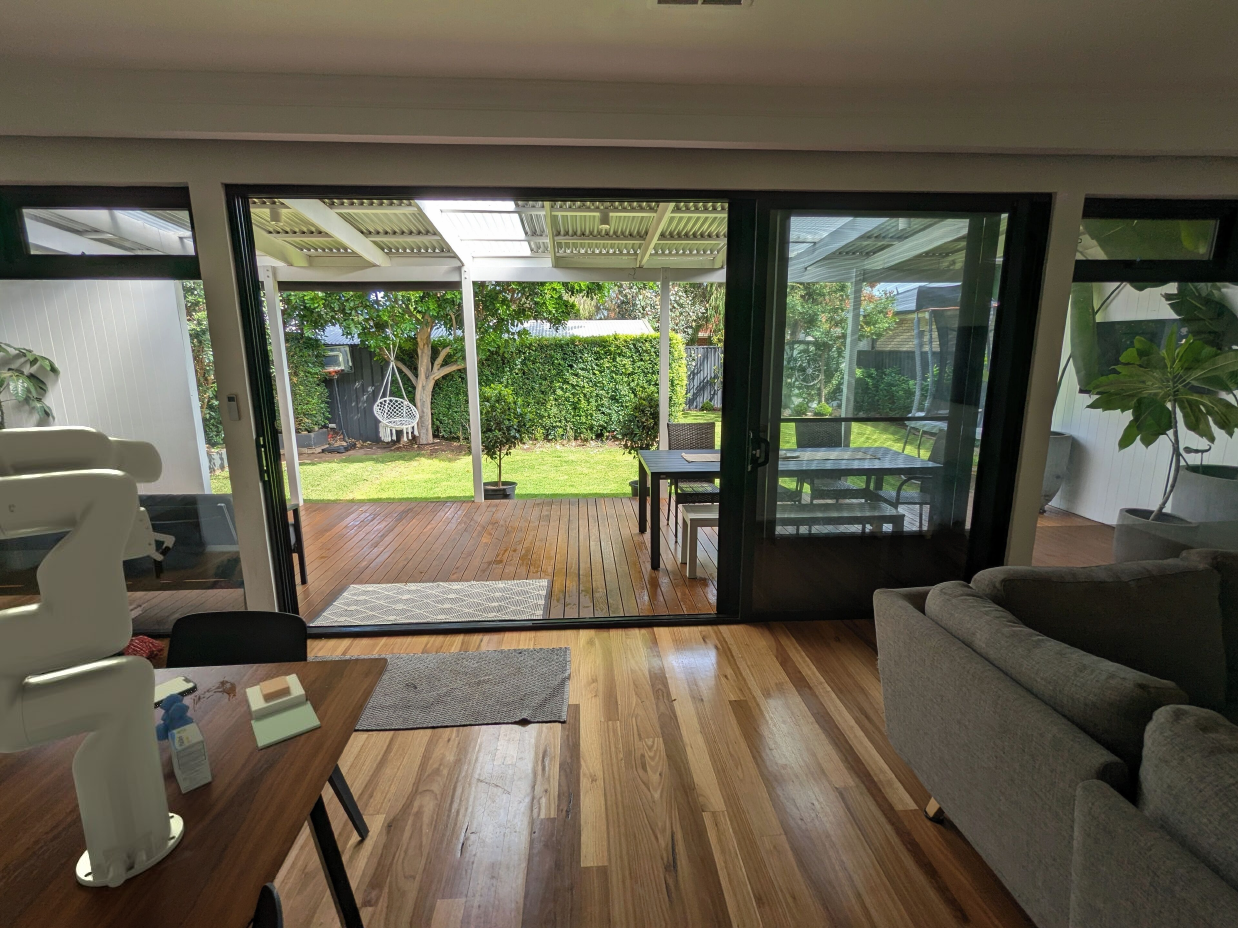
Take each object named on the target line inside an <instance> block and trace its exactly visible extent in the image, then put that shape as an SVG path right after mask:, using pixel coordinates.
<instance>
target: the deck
mask: <svg viewBox="0 0 1238 928" xmlns="http://www.w3.org/2000/svg"><path fill="white" fill-rule="evenodd" d="M285 677H286V680H287V682H288V684H289V686H290V693H287V694H284V695H281V696H278V697H275V698H272V699H269V700H266V701H264V699H263V696H262V693H261V691H260V684H258V685H255V686H251V687H248V688H245V693H246V701H247V704H248V707H249V711H250V714H251V717H252V720H255V719H258V718H261V717H264V716H267V715H269V714H272V713H275V712H278V711H281V710H284V709H287V708H290V707H292V706H295V705H298V704H301V703H304V702H307V700H306V692H305V690H304V688H303V686H302V684H301V682H300V680H299V678H298V676H297V675H296V673H293V674H290V675H287V676H285Z"/></svg>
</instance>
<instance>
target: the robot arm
mask: <svg viewBox="0 0 1238 928" xmlns="http://www.w3.org/2000/svg"><path fill="white" fill-rule="evenodd" d="M162 462H163V461H162V458H161V455H160V453H159V451H158V449H157V448H156V446H155V445H154V444H152V443H150V441H149V442H148V441H145V440H136V439H125V438H116V437H109V436H108V435H107V434H105V433H104V432H102V431H100V430H98V429H95V428H92V427H87V426H81V425H78V426H77V425H68V426H67V425H66V426H65V425H63V426H46V427H45V426H44V427H25V428H24V427H23V428H20V427H19V428H3V429H0V540H7V539H14V538H21V537H29V536H36V535H45V534H54V533H60V532H67V531H69V532H68V534H66V535H65V536H64V537H63V538H62V539H61V540H60V541H58V543H57V544H56V545H55V546H54V547H53V548H52V549H51V550H50V551H49V552H48V553H47V554H46V556H45V557H44V559H43V560H42V561H41V563H40V565H39V566H38V568H37V570H36V581H37V584H38V588H39V593H40V598H41V602H37V603H31V604H26V605H21V606H16V607H9V608H7V609H1V610H0V753H2V754H9V753H17V752H21V751H26V750H29V749H33V748H36V747H39V746H43V745H45V744H46V745H47V744H50V743H53V742H57V741H59V740H60V741H61V740H64V739H67V738H71V737H73V736H79V735H84V734H87V733H88V735H87V736H86V737H85V738H84V740H83V742H82V743H81V745H79V747H78V749H77V750H76V753H75V754H74V756H73V760H72V765H71V768H72V769H71V771H72V776H73V777H72V778H73V780H74V786H75V791H76V797H77V802H78V807H79V813H80V818H81V822H82V823H81V824H82V829H83V834H84V839H85V845H86V850H85V851H84V852H83V854H81V855H82V856H80V858H79V860H78V862H77V864H76V866H75V876H76V879H77V882H78V883H80V884H81V885H83V886H86V887H103V886H104V887H105V886H108V887H110V888H115V887H118V886H120V885H122V884H124V882H125V881H126V880H128V879H130V878H133V877H134V876H137V875H139V874H140V873H143V872H144V871H146V870H148V869H150V868H152V867H153V866H154V865H156V864H157V863H158V862H160V861H162V860H163V858H166V856H167V855H169V854H170V853H171V852H172V851H173V849H174V848H176V847H177V845H178V844H179V843H180V841H181V840H182V838H183V835H184V832H185V823H184V819H183V818H182V817H181V816H180V815H179V814H176V813H173V812H172V813H171V812H170V811H169V805H168V799H167V793H166V791H167V790H166V786H165V779H164V773H163V767H162V760H161V754H160V748H159V742H158V740H157V734H156V720H155V719H156V718H155V708H154V698H155V686H156V673H155V668H154V666H153V664H152V663H151V661H150V660H148V659H147V658H145V657H143V656H140V655H131V654H130V655H120V656H112V655H114V654H117V653H119V652H120V651H122V650H123V649H125V648H126V647H127V646H128V645H129V644H130V641H131V640H132V636H133V622H132V613H131V608H130V602H129V601H130V600H129V597H128V589H127V584H126V580H125V572H124V565H123V563H124V562H123V561H127V560H131V559H132V560H133V559H139V558H142V557H146V556H149V557H151V558H152V559H151V564H152V565H151V566H152V571H153V573H152V574H153V577H154V578H155V580H161V575H162V574H164V567H163V561H162V560H163V559H164V557H165V556H166V555H168V553H170V551H171V549H172V547H173V545H174V543H175V541H176V538H175V536H173V535H169V534H163V533H157V532H154V531H153V527H152V523H151V521H150V516H149V514H148V511H147V509H146V508H144V507H141V505H140V503H141V502H140V498H139V492H138V491H139V490H138V485H144V484H152V483H155V482H157V481H158V480H160V478H161V475H162V472H163V463H162ZM155 540H157V541H161V542H164V544H163V546H162V547H161V548H160V549H159V550H158V551H157V550H156V549H157V548H156V541H155ZM110 656H112V657H110ZM106 657H107V658H106ZM42 673H44V674H42Z"/></svg>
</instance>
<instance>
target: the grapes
mask: <svg viewBox="0 0 1238 928" xmlns="http://www.w3.org/2000/svg"><path fill="white" fill-rule="evenodd" d="M184 699H185V697H184V696H180V695H178V694H170V695H169V696H167V697H166V698H165V699H164V700H163V702H162V704H161V705H160V706H159V709H160V710H162V711H164V712H163V713H162V715H161V718H160V720H161V721H162V723H158V724H156V725H155V727H156V734H157V741H159V742H162V741H168V742H169V738H168V733H169V732H171V731H173V730H176V729H178V728H181V727H183V726H186V725H189V724H192V723H195V721H194V717H192V716H190V715H188V712H189V709H190V705H187V704H186V703H184Z"/></svg>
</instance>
